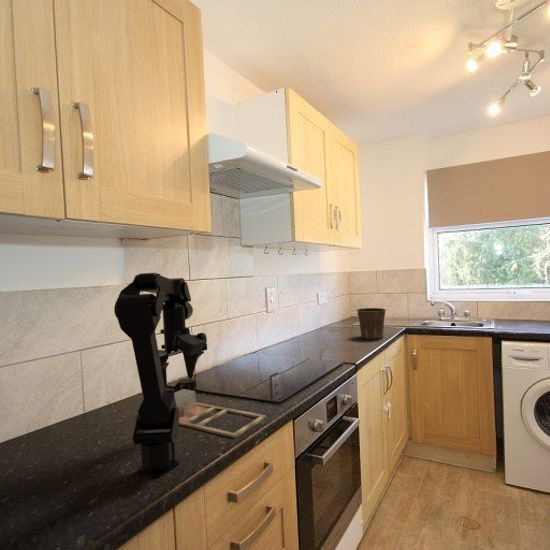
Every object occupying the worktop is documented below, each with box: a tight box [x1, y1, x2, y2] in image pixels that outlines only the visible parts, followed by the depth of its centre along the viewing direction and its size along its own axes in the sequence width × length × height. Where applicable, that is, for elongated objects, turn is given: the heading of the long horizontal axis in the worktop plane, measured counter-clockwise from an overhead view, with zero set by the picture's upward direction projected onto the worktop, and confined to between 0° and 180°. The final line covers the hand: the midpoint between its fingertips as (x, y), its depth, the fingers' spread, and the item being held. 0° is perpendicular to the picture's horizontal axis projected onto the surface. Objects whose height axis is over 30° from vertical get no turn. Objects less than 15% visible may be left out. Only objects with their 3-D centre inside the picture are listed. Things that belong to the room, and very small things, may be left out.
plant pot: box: [356, 307, 387, 340], centre depth 217 cm, size 16×16×16 cm
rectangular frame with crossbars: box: [179, 401, 267, 439], centre depth 111 cm, size 14×32×1 cm, turn 58°
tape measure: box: [173, 377, 197, 392], centre depth 138 cm, size 7×7×4 cm
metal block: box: [174, 389, 197, 416], centre depth 115 cm, size 5×5×6 cm
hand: (177, 382), depth 102 cm, fingers open, 9 cm apart
